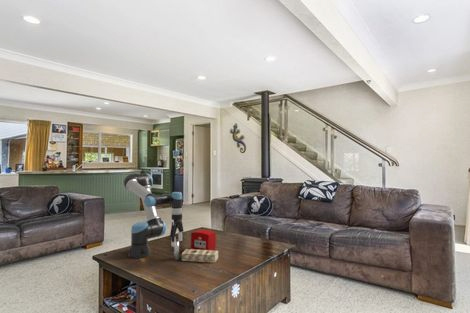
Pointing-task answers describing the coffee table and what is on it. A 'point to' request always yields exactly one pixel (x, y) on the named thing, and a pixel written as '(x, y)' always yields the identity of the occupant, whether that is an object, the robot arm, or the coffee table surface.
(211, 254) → the bore block
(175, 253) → the pin
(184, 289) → the coffee table surface
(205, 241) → the fire alarm
